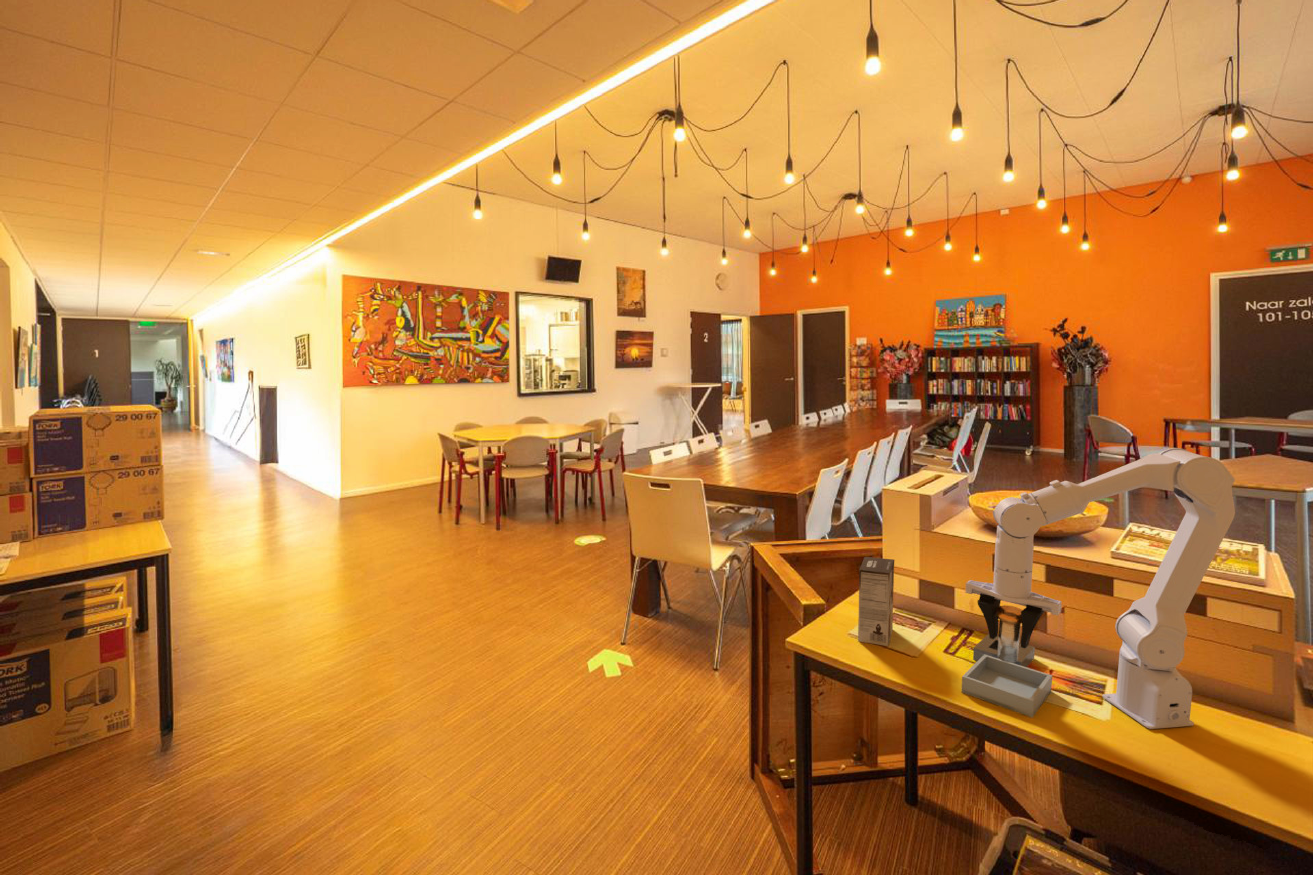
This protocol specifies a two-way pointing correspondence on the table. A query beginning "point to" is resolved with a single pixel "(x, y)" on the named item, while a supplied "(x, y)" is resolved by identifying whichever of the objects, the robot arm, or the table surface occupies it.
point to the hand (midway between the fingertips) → (1008, 641)
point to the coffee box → (876, 600)
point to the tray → (1007, 685)
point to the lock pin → (1009, 632)
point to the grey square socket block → (991, 649)
